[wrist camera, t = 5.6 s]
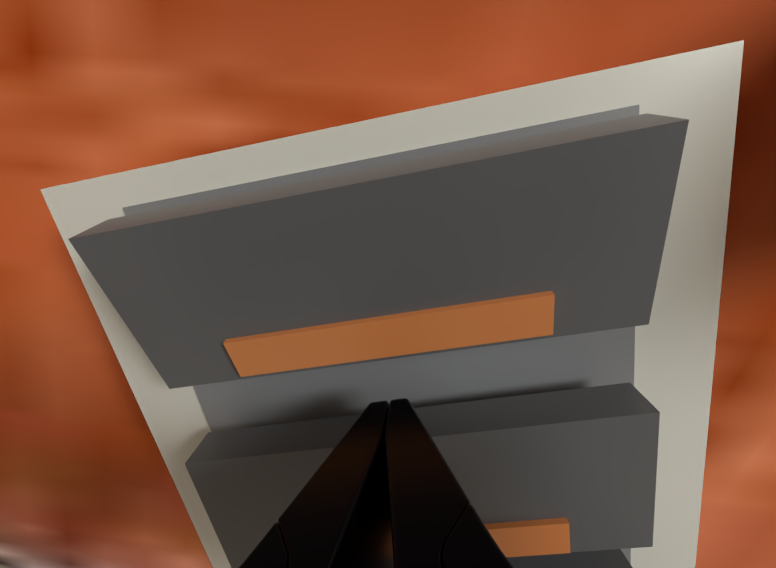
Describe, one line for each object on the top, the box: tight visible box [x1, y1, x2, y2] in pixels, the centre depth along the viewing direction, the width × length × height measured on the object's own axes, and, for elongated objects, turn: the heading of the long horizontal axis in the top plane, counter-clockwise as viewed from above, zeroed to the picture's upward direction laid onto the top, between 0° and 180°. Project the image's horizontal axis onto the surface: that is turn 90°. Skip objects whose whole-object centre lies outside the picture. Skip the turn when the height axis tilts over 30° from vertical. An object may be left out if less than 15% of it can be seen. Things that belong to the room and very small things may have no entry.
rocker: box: [68, 113, 689, 389], centre depth 8 cm, size 4×11×2 cm, turn 101°
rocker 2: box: [185, 382, 660, 568], centre depth 10 cm, size 4×11×2 cm, turn 100°
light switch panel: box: [40, 40, 744, 568], centre depth 13 cm, size 21×16×3 cm
